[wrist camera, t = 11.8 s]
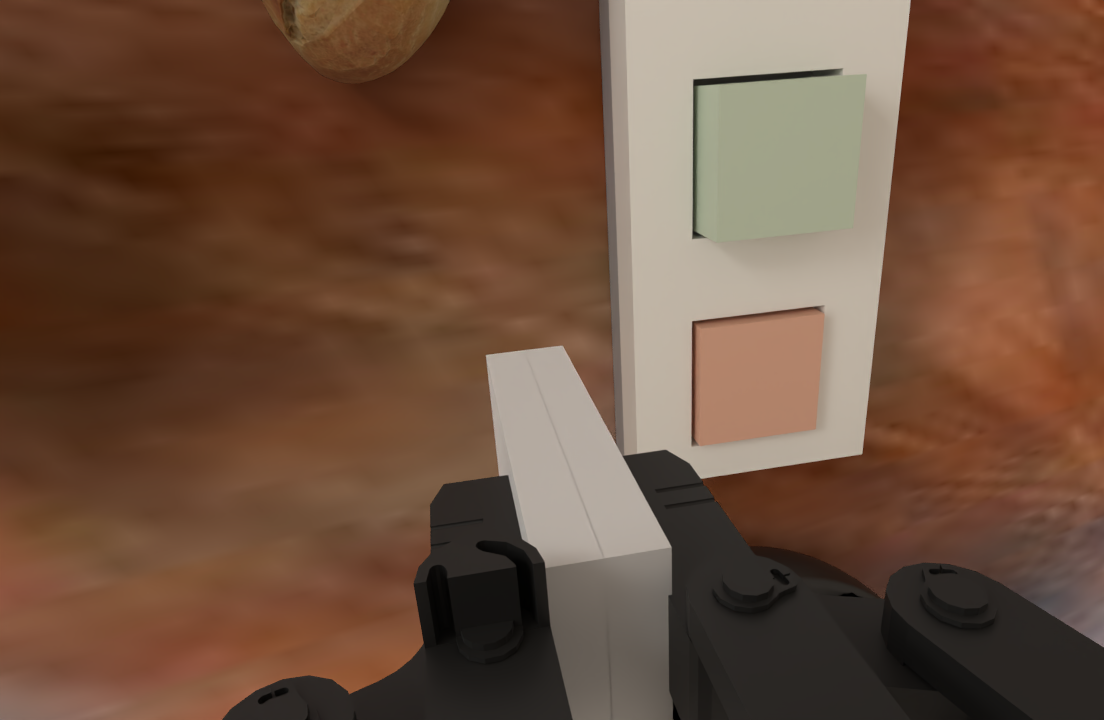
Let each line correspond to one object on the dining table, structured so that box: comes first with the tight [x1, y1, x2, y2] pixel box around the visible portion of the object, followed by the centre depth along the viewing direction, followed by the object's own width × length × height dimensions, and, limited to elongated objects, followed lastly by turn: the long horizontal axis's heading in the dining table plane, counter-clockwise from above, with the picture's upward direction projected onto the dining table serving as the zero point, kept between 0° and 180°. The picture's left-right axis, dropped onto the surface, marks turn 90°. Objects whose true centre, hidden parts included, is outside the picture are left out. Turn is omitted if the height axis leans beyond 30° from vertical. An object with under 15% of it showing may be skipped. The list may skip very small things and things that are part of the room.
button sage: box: [693, 74, 867, 243], centre depth 34 cm, size 7×7×3 cm
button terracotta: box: [691, 307, 825, 446], centre depth 40 cm, size 7×7×3 cm
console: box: [599, 0, 911, 479], centre depth 37 cm, size 14×36×5 cm, turn 4°
